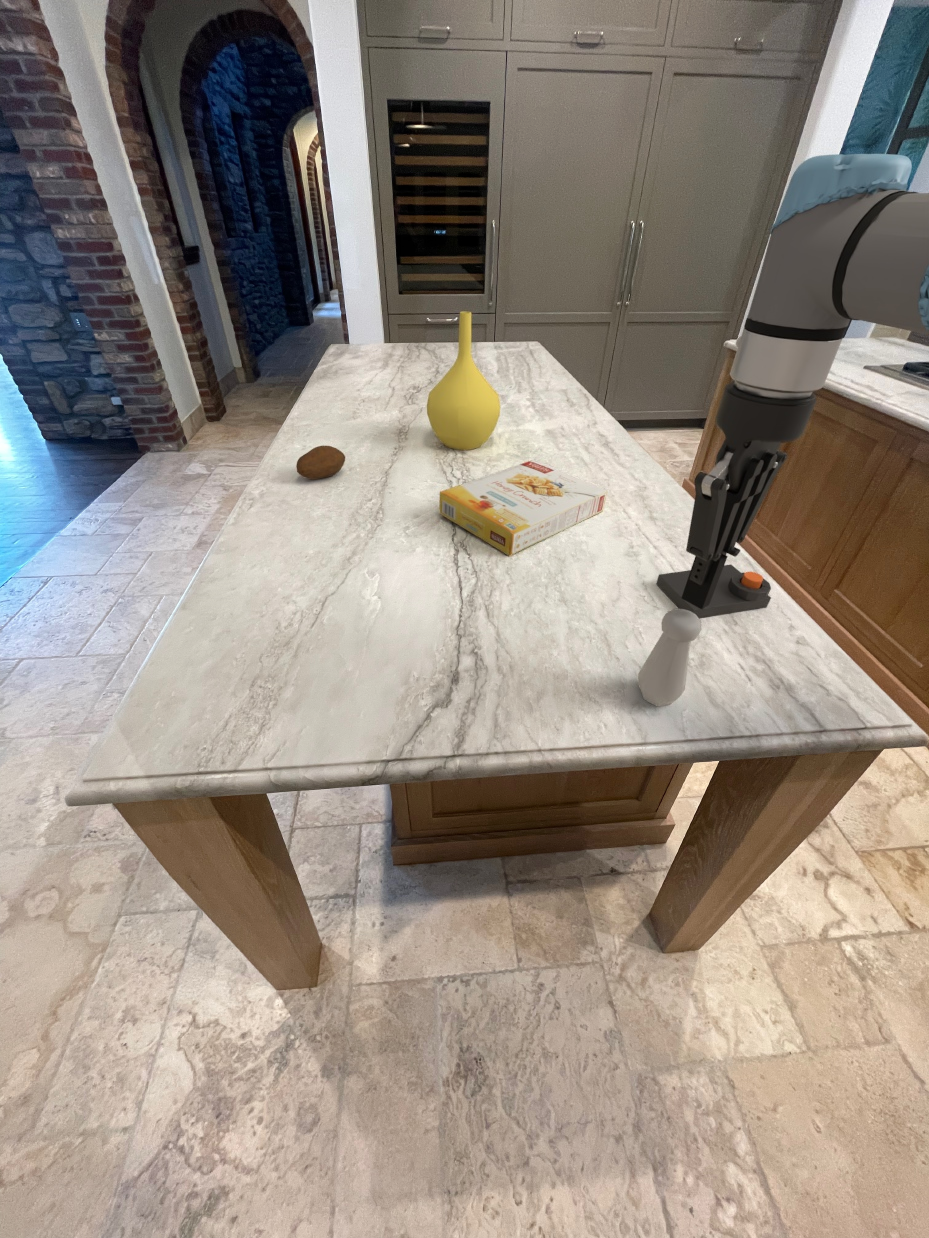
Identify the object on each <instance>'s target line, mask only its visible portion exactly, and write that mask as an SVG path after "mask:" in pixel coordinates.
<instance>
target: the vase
mask: <svg viewBox="0 0 929 1238" xmlns="http://www.w3.org/2000/svg"><path fill="white" fill-rule="evenodd" d="M458 324H459V325H458V353H457V356H456V359H455V361H454V363H453V365H452V366H451V367H450V368H449V370H448V371H447V372H446V373H445V374H444V375H443V377H442V379H440V380H439V381H438V382H437V384H436V385H435V386H434V387H432V388H431V390H430V391H429V392H428V397H427V402H426V415H427V418H428V421H429V423H430V426H431V427H430V428H431V429H432V431H433V432H434V434H435V436H436V438H437V439H438V441H440V442H441V443H442V444H443V445H444V446H445V447H447V448H449V449H453V450H459V451H467V450H475V449H477V448H479V447H481V446H483V445H484V444H485V443H486V442H487V441H488V440H489V438H490V437H491V436H492V434H493V432H494V431H495V429H496V426H497V423H498V421H499V419H500V416H501V415H500V414H501V402H500V394H499V393H498V392H497V391H496V390H495V388H493V386H492V385H491V384H490V382H488V380H487V379H486V378H485V376H484V374H482V372H481V370H480V369H479V368H478V367H477V366H476V364H475V361H474V359H473V355H472V312H471V311H465V310H463V311H460V312H459V323H458Z"/></svg>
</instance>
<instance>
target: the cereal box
mask: <svg viewBox="0 0 929 1238" xmlns="http://www.w3.org/2000/svg"><path fill="white" fill-rule="evenodd" d="M607 494H608V489H607V488H606V487H603V486H601V485H598V484H595V483H593V482H591V481H588V480H586V479H583V478H581V477H578V476H576V475H573V474H571V473H569V472H566V471H564V470H562V469H560V468H556V467H554V466H552V465H550V464H548V463H545V462H543V461H540V460H538V459H535V458H534V459H532V460H529V461H526V462H523V463H520V464H517V465H514V466H511V467H507V468H504V469H502V470H499V471H496V472H494V473H490V474H488V475H485V476H482V477H479V478H476V479H472V480H470V481H467V482H464V483H460V484H458V485H455V486H452V487H449V488H447V489H443V490H441V491H439V503H438V505H439V506H438V510H439V514H440V516H442V517H445V519H448V520H449V521H450V522H453V523H454V524H456V525H458V526H459V527H461V528H463V529H464V530H466V531H468V532H469V533H470V534H473V535H474V536H475V537H477V538H479V539H481V540H483V542H486V543H487V544H489V545H490V546H492V547H494V548H495V549H497V550H498V551H500V552H502V553H504V554H505V555H507V556H512V555H514V554H516V553H518V552H520V551H522V550H525V549H527V548H530V547H531V546H533V545H535V544H537V543H539V542H541V541H543V540H545V539H548V538H550V537H552V536H554V535H557V534H558V533H560V532H562V531H564V530H567V529H569V528H571V527H573V526H576V525H577V524H579V523H581V522H583V521H586V520H588V519H589V518H591V517H593V516H596V515H598V514H599V513H602V512H604V508H605V503H606V499H607V496H608V495H607Z"/></svg>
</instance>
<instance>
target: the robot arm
mask: <svg viewBox="0 0 929 1238" xmlns="http://www.w3.org/2000/svg"><path fill="white" fill-rule="evenodd" d="M912 167H913V165H912V161H911V159H910V158H909V157H908V156H906V155H901V154H893V153H892V154H890V153H889V154H888V153H854V154H844V153H843V154H841V153H837V154H836V153H835V154H822V155H815V156H812V157H809V158H807V159H806V160H804V161H803V162H802V163H800V164H799V165H798V166H797V168H796V169H795V170H794V171H793V174H792V176H791V177H790V180H789V183H788V186H787V188H786V191H785V194H784V196H783V200H782V202H781V204H780V207H779V210H778V214H777V216H776V218H775V221H774V222H773V224H772V226H771V229H770V233H769V234H770V236H769V241H768V244H767V247H766V251H765V255H764V259H763V262H762V265H761V269H760V272H759V277H758V280H757V283H756V287H755V290H754V293H753V296H752V300H751V304H750V307H749V310H748V314H747V316H746V319H745V321H744V325H743V330H742V332H741V336H739V337H738V338H737V339H736V341H735V347H736V352H735V356H734V359H733V362H732V364H731V368H730V371H729V376H730V378H731V379H732V380H733V381H730V382H729V383H728V384H726V385H725V387H724V389H723V392H722V395H721V398H720V402H719V406H718V409H717V412H716V414H715V415H716V416H715V419H714V421H715V425H716V426H717V428H718V429H719V430H721V431H722V433H723V434H724V440H723V442H722V445H721V446H720V448H719V450H718V452H717V454H716V457H715V461H714V467H713V468H712V469H711V470H710V471H709V473H706V472H704V471H699V472H698V473H697V474H696V476H695V478H694V492H695V497H694V503H693V507H692V513H691V520H690V525H689V531H688V536H687V543H686V548H685V549H686V550H685V551H686V552H687V553H689V554H691V555H692V556H694V559H693V561H692V565H691V568H690V570H691V571H690V574H689V577H688V580H687V583H686V586H685V589H684V592H683V595H682V599H684V600H685V601H687V602H689V603H691V604H693V605H694V606H696V607H698V608H700V609H704V608H705V607H707V606H708V605H709V604H710V601H711V599H712V596H713V594H714V591H715V588H716V586H717V583H718V580H719V578H720V575H721V573H722V570H723V567H724V565H726V562H727V560H728V557H729V556H728V555H730V556H732V557H734V558H735V557H737V556H739V554H740V552H741V549H740V548H737V547H735V546H736V543H737V544H741V543H743V542H744V541H745V538H746V536H747V534H748V532H749V530H750V528H751V526H752V524H753V522H754V520H755V517H756V516H757V514H758V512H759V510H760V509H761V506H762V504H763V502H764V500H765V497H766V496H767V494H768V492H769V489H770V488H771V486H772V484H773V482H774V480H775V477H776V476H777V474H778V473H779V471H780V470H781V468H782V467H783V465H784V464H785V462H786V461H787V459H788V453H787V452H785V451H781V450H779V449H780V447H781V445H782V444H785V443H791V442H793V441H796V440H798V439H800V438H801V437H802V436H803V434H804V432H805V431H806V427H807V425H808V423H809V421H810V418H811V415H812V413H813V411H814V408H815V406H816V403H817V401H818V399H817V397H816V394H815V393H814V392H818V391H819V390H821V389H822V388H823V387H825V384H826V380H827V378H828V376H829V373H830V371H831V368H832V366H833V364H834V361H835V359H836V356H837V354H838V351H839V349H840V347H841V344H842V341H843V338H844V335H845V333H846V331H847V327H848V326H849V324H850V321H862V322H867V323H872V324H876V325H879V326H880V325H881V326H885V327H890V328H895V329H900V330H905V331H909V332H913V333H918V334H923V335H928V336H929V192H918V191H909V190H907V188H908V181H909V178H910V175H911V173H912ZM727 554H728V555H727Z"/></svg>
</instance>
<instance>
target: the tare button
mask: <svg viewBox="0 0 929 1238" xmlns="http://www.w3.org/2000/svg"><path fill="white" fill-rule="evenodd" d="M743 573H744V575H743V578H742V580H741V584H743V585H744V586H746V587H748V588H753V589H758V588H760V586H761V583H762V581H763V578H764V577H763V575H761V574H760V573H758V572H755V571H745V572H743Z"/></svg>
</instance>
